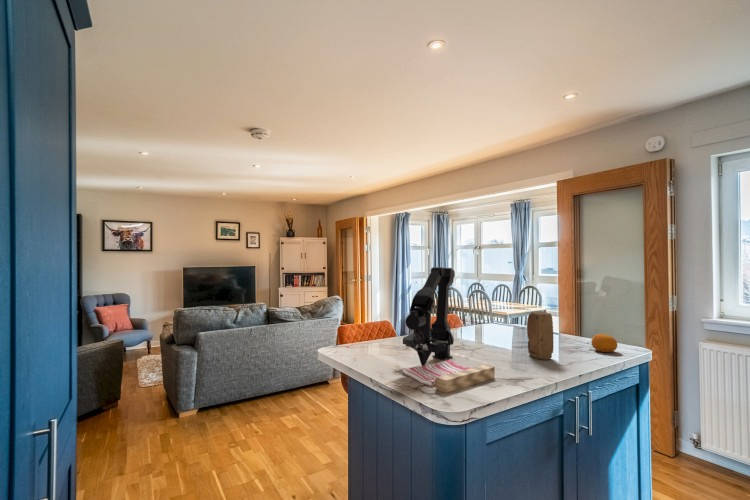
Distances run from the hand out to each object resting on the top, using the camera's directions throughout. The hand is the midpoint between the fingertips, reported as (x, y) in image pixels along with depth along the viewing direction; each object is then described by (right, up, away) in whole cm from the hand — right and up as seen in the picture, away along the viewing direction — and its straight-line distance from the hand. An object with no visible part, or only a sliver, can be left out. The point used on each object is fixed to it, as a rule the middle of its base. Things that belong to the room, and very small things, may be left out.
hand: (423, 365), depth 147 cm
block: (+54, -2, +18) cm, 57 cm away
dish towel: (+5, -2, -7) cm, 9 cm away
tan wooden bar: (+13, -1, -17) cm, 21 cm away
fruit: (+89, -3, +30) cm, 94 cm away
